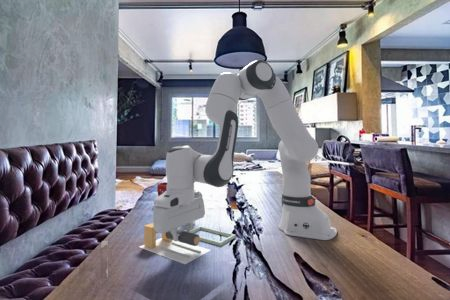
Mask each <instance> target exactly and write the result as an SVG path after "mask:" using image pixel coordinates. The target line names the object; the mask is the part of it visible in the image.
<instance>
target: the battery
mask: <svg viewBox="0 0 450 300" xmlns="http://www.w3.org/2000/svg"><path fill="white" fill-rule="evenodd" d="M176 232H177V234H178V235H180V240H179V242H182V243H186V244H189V245H193V246H199V243H201V241H200V237H199V236H200V234H197V233H189V232H185V231H184V230H181V229H178V231H176ZM165 235H166V238H168V239H172V240H173V235H172V234H171V232H170V231H168V232H166V233H165Z"/></svg>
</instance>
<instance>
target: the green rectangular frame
mask: <svg viewBox="0 0 450 300" xmlns="http://www.w3.org/2000/svg"><path fill="white" fill-rule="evenodd" d="M199 231H204V232H207V233H208V232H209V233H211V234H217V235H220V236H225V237H226V238H224V239H222V240H221V241H218V240H215V239H211V238H207V237H204V236H200V235H199V237H200V242H201V241H202V242H204V243H208V244H211V245H215V246H219V247H221V246H223V245H225V244H226V243H229V242H230V241H232V240H234V239H236V234H234V233H230V232H226V231H222V230H218V229H214V228H210V227H205V226H202V225H200V226H197V227H195V228H193V229H191V233H193V234H195V233H196V232H199Z"/></svg>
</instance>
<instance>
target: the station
mask: <svg viewBox="0 0 450 300" xmlns="http://www.w3.org/2000/svg"><path fill="white" fill-rule="evenodd" d="M138 248H140V249H143V250H145V251H148V252H151V253H154V254H156V255H159V256H161V257H165V258H167V259H170V260H172V261H175V262H177V263H180V264H183V265H187V264H189V263H191V262H192V261H194V260H196V259H198V258H200V257H201V256H203V255H205V254H207V253H208V252H210V251H212V250H211V249H209V248H206V247H202V246H199V245H197V246H193V245H189V244H186V243H182V242H179V241H177V242H176V241H174V240H171V241H167V240H164V239H162V237H160V238H158V239H157V238H156V247H155V248H149V247H146V246H144V244H143V245H139V246H138Z"/></svg>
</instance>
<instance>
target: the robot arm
mask: <svg viewBox="0 0 450 300" xmlns="http://www.w3.org/2000/svg"><path fill="white" fill-rule="evenodd" d="M255 96H257V97H259V98H260V99H261V101H262V104H263V107H264V109H265V112H266V114H267V116H268V119H269V121H270V124H271V126H272V128H273V129H274V130H275V132H276V133H277V136H278V137H279V138H280V141H279V143H278V147H277V148H278V152H279V159H280V166H281V171H282V194H281V207H282V211H281V218H280V222H279V225H278V229H280V230H281V231H282V232H284V234H285V235H286V236H293V237H298V238H306V239H307V238H308V239H313V240H314V239H315V240H322V241H329V240H332V239H334V238H335V237H336V236H337V233H338V232H337V228H336V227H333V226H331V219H330V218H329V215H328V214H327V213H325V212H324V211H323V210H322V209H321V208H320V207H318V206H317V205H316V201H317V197H314V196H313V195H311V177H312V176H311V174H310V171H309V168H308V164H307V162H310V161H312V160H314V159H315V158H316V156H318V153H319V144H318V142H317V141H316V139H315V138H313V136H312V135H311V133H310V132H309V130H308V128H307V127H306V126H305V124H304V123H303V121H302V119H301V118H300V115H299V113H298V111H297V109H296V107H295V104H294V102H293V99H292V97H291V94H290V93H289V91H288V89H287V87H286V86H285V83H284V82H283V81H282V80H281V78H279V77H277V76H276V73H275V71H274V69H273V67H272V66H271V65H270V63H268V62H267V61H265V60H263V59H257V60H254V61H251V62H250V63H249V64H248V65H246V66H244V67H243V68H242V69H241V70H240V71H239V72H238V73H237V74H235V73H232V72H229V71H228V72H223V73H220V74H219V75H218V76H217V78H216V79H215V81H214V83H213V85H212V87H211V90H210V91H209V95H208V97H207V100H206V103H205V109H204V110H205V111H204V112H205V114H206V116H207V119H209V120H210V122H212V123H213V124H215V125H216V126H218V128H219V135H218V140H217V145H216V150H215V152H214V153H213V154H203V153H200V152H198V151H196V150H194V149H193V148H192V147H191V146H190V145H187V144H186V145H179V146H178V145H176V146H173V147H171V148H169V149H168V150H167V152H166V155H165V176H166V179H167V186H166V191H165V192H164V193H163V194H161V195H160V196H159V197H158V196H157V197H156V198H154V200H153V206H155V208H154V210H153V215H152V219H153V220H152V221H153V222H152V223H153V227H154V230H155V231H156V232H158V233H157V234H162V233H166V232H168V231H170V232H171V234H172V235H173V240H174V241H176V242H177V241H179V240H180V235H178V234H177V232H176V231H178V230H179V228H180V227H183V226H185V225H186V224H187V225H186V226H185V229H184V230H183V231H185V232H189V233H191V230H192V228H193V226H194V224H193V221H195V222H196V221H197V220H200V219H203V218H204V217H205V215H206V208H205V203H204V202H205V201H204V199H203V194H202V193H201V192H200V191H197V190H196V192H194V190H195V184H194V183H195V182H197V183H200V184H206V185H209V186H212V187H215V188H222V187H225V186H226V185H227V184H229V182H230V181H231V179H232V178H233V175H234V170H235V169H234V157H235V150H236V143H237V137H238V130H239V117H238V114H237V108H238V104H239V101H246V100H249V99H251V98H253V97H255Z"/></svg>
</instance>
